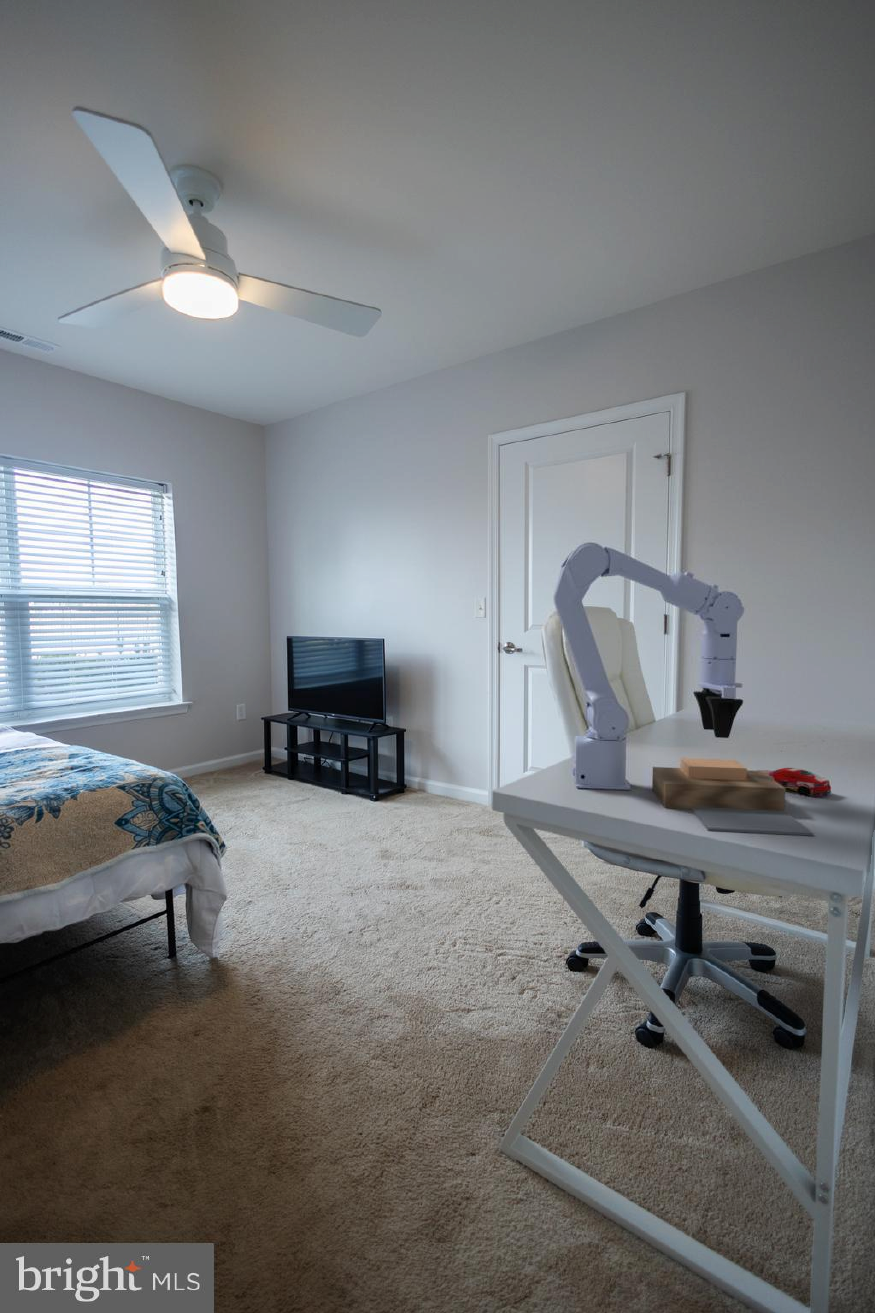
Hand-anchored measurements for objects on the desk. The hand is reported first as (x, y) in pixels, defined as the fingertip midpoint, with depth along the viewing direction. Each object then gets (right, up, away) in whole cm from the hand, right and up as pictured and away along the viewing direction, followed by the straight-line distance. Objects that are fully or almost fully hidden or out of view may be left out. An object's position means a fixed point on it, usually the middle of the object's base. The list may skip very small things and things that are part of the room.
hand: (715, 733), depth 110 cm
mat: (-4, -11, -19) cm, 22 cm away
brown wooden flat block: (-4, -10, -8) cm, 14 cm away
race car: (+13, -10, -1) cm, 16 cm away
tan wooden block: (-4, -6, -7) cm, 10 cm away
